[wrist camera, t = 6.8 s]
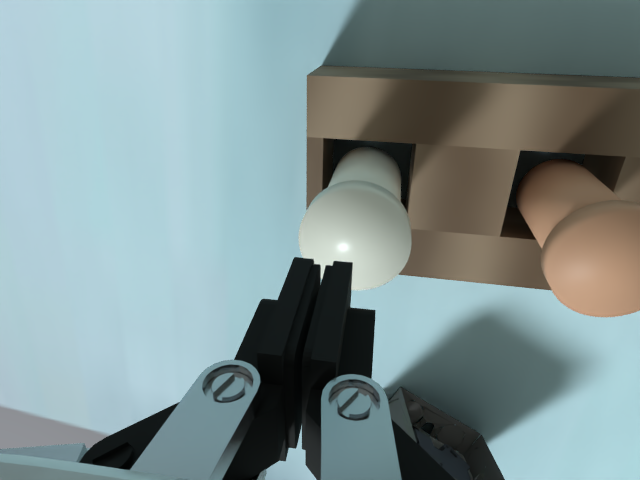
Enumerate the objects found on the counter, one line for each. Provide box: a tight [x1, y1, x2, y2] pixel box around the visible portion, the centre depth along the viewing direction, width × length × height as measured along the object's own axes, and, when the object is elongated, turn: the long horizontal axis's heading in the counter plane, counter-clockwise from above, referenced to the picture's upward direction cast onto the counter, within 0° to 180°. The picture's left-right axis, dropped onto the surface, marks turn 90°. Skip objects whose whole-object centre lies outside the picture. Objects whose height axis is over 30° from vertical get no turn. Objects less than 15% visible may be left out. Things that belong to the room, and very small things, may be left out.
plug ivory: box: [299, 147, 411, 290], centre depth 19 cm, size 4×4×7 cm
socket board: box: [307, 65, 640, 290], centre depth 22 cm, size 24×10×4 cm, turn 89°
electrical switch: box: [388, 387, 505, 480], centre depth 30 cm, size 9×5×9 cm, turn 59°
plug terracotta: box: [516, 159, 640, 317], centre depth 18 cm, size 4×4×7 cm
